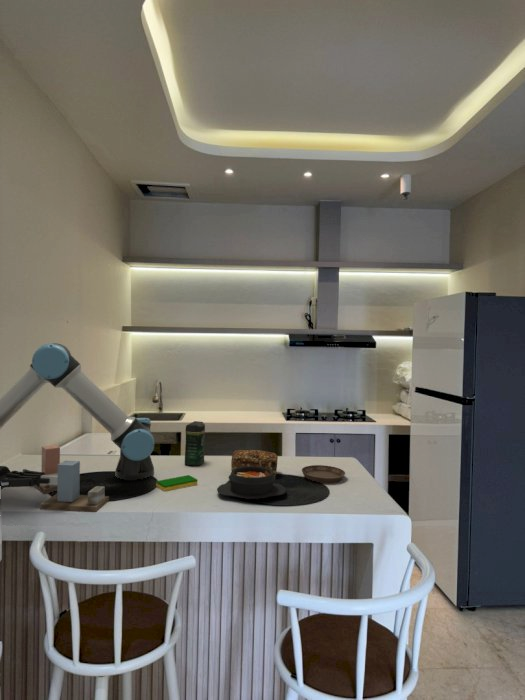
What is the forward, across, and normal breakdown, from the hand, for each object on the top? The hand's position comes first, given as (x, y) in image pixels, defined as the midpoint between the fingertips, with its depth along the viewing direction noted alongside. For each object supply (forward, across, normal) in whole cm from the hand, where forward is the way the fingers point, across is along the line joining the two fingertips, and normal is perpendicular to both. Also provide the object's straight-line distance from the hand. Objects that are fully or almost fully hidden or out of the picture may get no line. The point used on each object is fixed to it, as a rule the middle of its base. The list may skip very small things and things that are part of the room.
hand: (60, 480), depth 151 cm
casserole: (+62, -18, -8) cm, 65 cm away
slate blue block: (+3, 0, -6) cm, 7 cm away
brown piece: (-13, -18, -8) cm, 24 cm away
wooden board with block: (+5, 0, -8) cm, 9 cm away
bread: (+61, -43, -8) cm, 75 cm away
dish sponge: (+33, -24, -8) cm, 42 cm away
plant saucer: (+89, -42, -8) cm, 99 cm away
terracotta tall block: (-14, -19, -6) cm, 25 cm away
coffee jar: (+33, -54, -8) cm, 64 cm away
